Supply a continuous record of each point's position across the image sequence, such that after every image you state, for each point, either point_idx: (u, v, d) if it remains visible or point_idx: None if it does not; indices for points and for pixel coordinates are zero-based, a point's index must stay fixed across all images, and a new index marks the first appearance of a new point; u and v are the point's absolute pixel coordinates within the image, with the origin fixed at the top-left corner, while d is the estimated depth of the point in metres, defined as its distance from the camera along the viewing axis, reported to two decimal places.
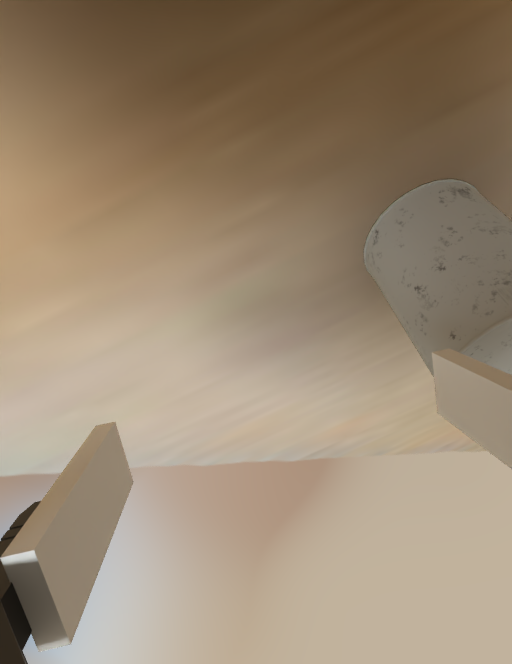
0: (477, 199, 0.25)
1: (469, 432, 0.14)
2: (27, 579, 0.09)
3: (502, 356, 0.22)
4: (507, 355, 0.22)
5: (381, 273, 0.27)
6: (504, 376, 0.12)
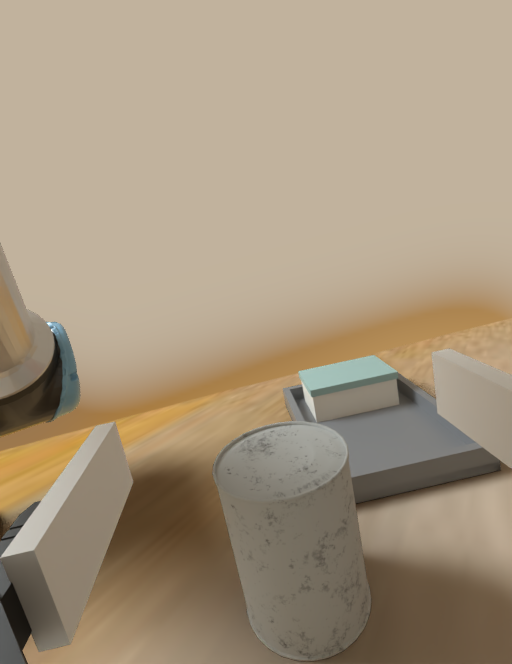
0: None
1: (469, 432, 0.14)
2: (27, 579, 0.09)
3: (264, 464, 0.26)
4: (267, 462, 0.26)
5: (248, 599, 0.26)
6: (504, 376, 0.12)
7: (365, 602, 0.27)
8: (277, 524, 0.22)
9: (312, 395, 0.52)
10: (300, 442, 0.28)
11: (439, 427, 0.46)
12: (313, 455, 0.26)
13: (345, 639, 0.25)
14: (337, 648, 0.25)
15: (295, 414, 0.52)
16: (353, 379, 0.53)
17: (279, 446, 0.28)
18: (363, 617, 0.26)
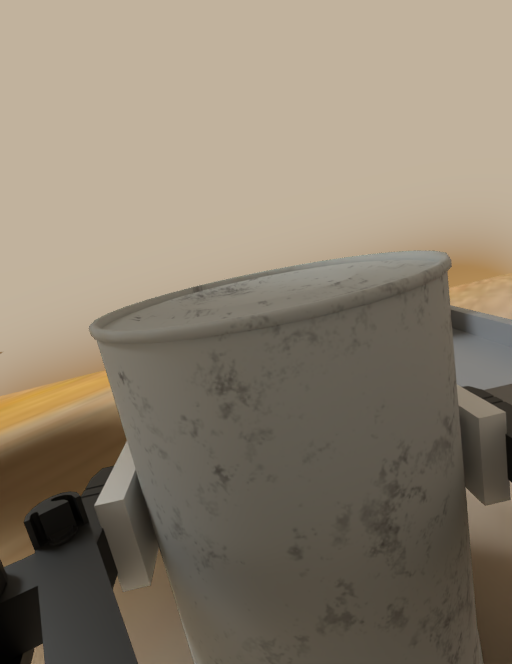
0: None
1: None
2: (116, 525, 0.10)
3: (225, 302, 0.11)
4: (235, 299, 0.11)
5: (189, 640, 0.11)
6: None
7: (477, 646, 0.11)
8: (248, 411, 0.07)
9: None
10: (313, 276, 0.12)
11: None
12: (347, 277, 0.10)
13: None
14: None
15: None
16: None
17: (265, 286, 0.12)
18: None
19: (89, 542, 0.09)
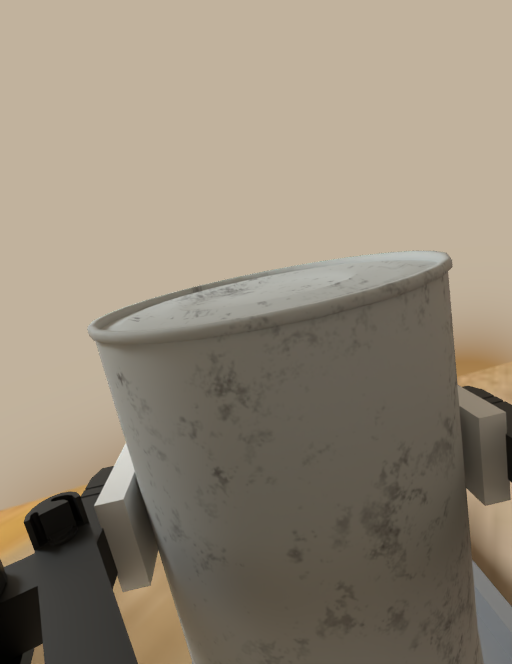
0: None
1: None
2: (116, 525, 0.10)
3: (225, 302, 0.10)
4: (234, 299, 0.11)
5: (188, 642, 0.11)
6: None
7: (478, 648, 0.11)
8: (246, 412, 0.07)
9: None
10: (313, 277, 0.12)
11: (491, 649, 0.21)
12: (348, 277, 0.10)
13: None
14: None
15: None
16: None
17: (265, 286, 0.12)
18: None
19: (89, 542, 0.09)
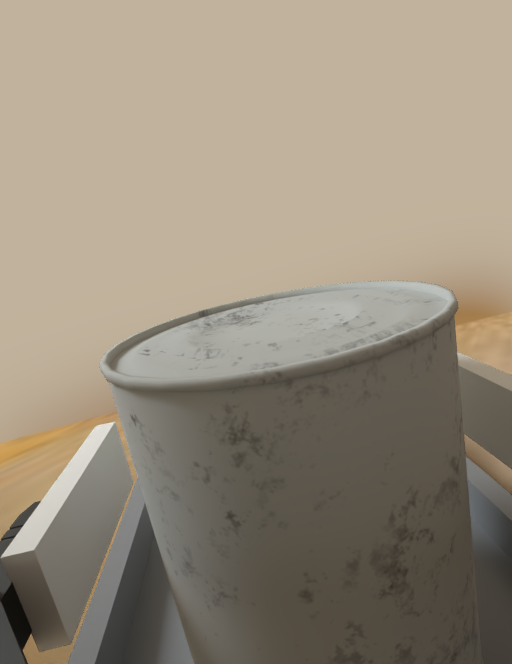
0: None
1: (469, 432, 0.14)
2: (27, 579, 0.09)
3: (233, 335, 0.11)
4: (243, 332, 0.11)
5: None
6: (504, 376, 0.12)
7: None
8: (260, 461, 0.07)
9: None
10: (319, 305, 0.12)
11: (510, 577, 0.15)
12: (354, 311, 0.11)
13: None
14: None
15: (132, 501, 0.21)
16: None
17: (272, 315, 0.12)
18: None
19: None
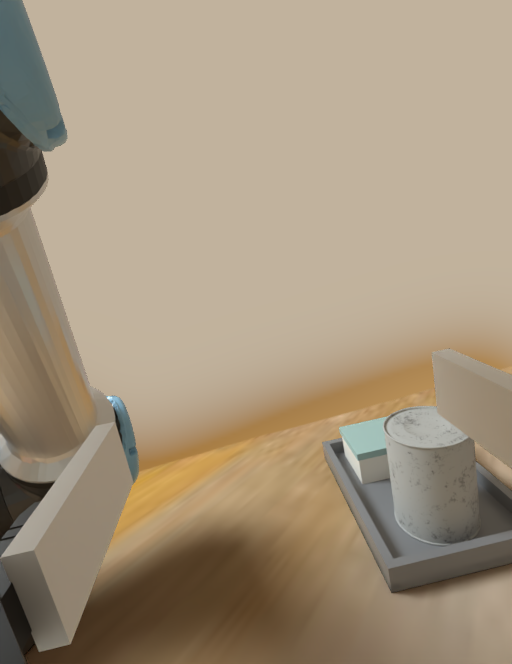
0: None
1: (469, 432, 0.14)
2: (27, 579, 0.09)
3: (418, 430, 0.43)
4: (419, 429, 0.43)
5: (409, 512, 0.43)
6: (504, 376, 0.12)
7: (479, 514, 0.43)
8: (440, 461, 0.39)
9: (358, 459, 0.53)
10: (434, 418, 0.45)
11: (488, 497, 0.47)
12: (448, 424, 0.43)
13: (471, 533, 0.42)
14: (466, 539, 0.42)
15: (342, 477, 0.54)
16: None
17: (421, 420, 0.45)
18: (479, 523, 0.43)
19: None
